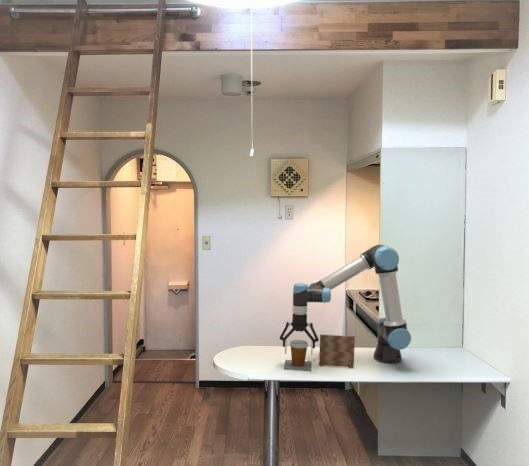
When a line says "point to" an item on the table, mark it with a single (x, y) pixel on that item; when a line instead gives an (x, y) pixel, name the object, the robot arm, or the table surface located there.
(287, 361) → the mat
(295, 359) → the disposable coffee cup
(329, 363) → the screen
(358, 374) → the table surface
